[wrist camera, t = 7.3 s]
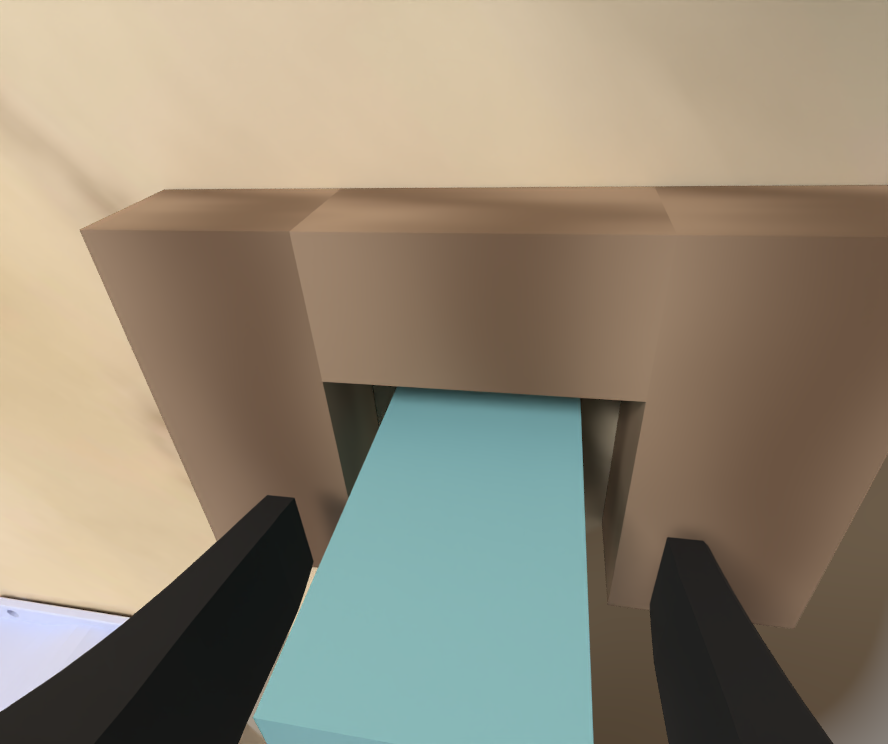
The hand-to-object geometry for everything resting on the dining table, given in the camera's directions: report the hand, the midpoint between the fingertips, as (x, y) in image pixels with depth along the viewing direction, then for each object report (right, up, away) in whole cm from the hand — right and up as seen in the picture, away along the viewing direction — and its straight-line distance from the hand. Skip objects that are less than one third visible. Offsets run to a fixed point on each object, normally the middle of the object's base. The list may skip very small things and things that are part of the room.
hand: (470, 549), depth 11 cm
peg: (+1, +2, +3) cm, 4 cm away
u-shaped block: (+1, +3, +2) cm, 4 cm away
